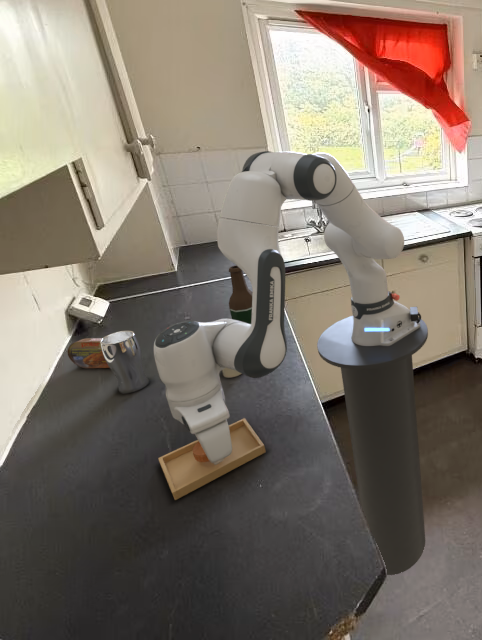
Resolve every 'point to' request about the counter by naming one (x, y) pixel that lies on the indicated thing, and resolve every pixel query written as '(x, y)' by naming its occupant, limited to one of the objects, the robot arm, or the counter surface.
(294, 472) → the counter surface
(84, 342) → the tin
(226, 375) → the jar
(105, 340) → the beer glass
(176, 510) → the counter surface
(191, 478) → the tray
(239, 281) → the beer bottle
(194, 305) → the counter surface
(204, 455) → the lid
